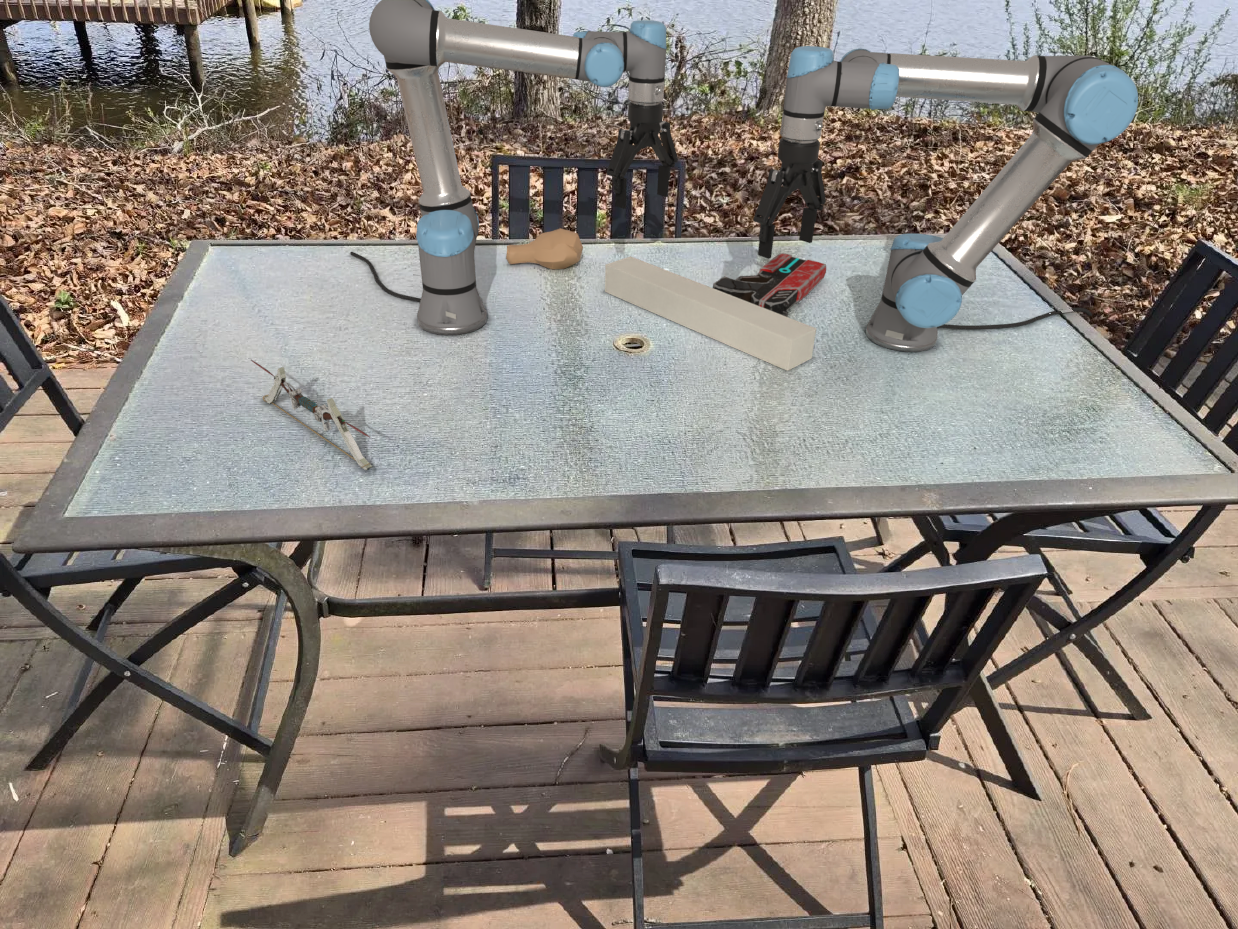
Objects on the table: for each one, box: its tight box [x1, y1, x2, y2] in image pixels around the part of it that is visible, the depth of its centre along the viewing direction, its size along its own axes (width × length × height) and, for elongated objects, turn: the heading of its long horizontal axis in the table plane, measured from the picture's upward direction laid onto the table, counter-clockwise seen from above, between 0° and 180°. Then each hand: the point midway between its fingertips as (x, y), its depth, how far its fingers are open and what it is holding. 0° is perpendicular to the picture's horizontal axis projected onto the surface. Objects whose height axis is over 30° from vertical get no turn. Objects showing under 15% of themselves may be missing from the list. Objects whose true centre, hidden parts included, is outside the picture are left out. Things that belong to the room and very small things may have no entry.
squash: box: [505, 227, 584, 270], centre depth 225 cm, size 11×20×9 cm, turn 90°
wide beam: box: [604, 256, 817, 372], centre depth 198 cm, size 55×9×7 cm, turn 44°
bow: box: [250, 359, 373, 471], centre depth 154 cm, size 39×2×10 cm, turn 47°
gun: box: [712, 252, 827, 317], centre depth 215 cm, size 4×31×19 cm
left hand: (641, 201), depth 199 cm, fingers open, 13 cm apart
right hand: (785, 248), depth 175 cm, fingers open, 13 cm apart
